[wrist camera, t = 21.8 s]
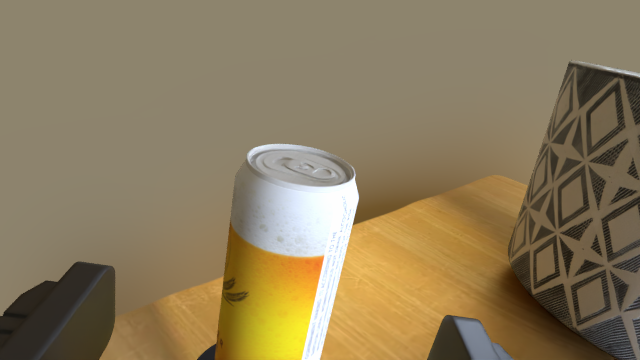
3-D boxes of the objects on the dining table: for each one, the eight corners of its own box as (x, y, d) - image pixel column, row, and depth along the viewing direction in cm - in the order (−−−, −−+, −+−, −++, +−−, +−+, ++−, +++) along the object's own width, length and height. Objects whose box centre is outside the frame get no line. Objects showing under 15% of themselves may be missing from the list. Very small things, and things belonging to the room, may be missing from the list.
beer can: (245, 336, 29) (275, 133, 24) (325, 374, 28) (377, 164, 22) (189, 402, 24) (210, 160, 18) (283, 454, 22) (338, 205, 17)
